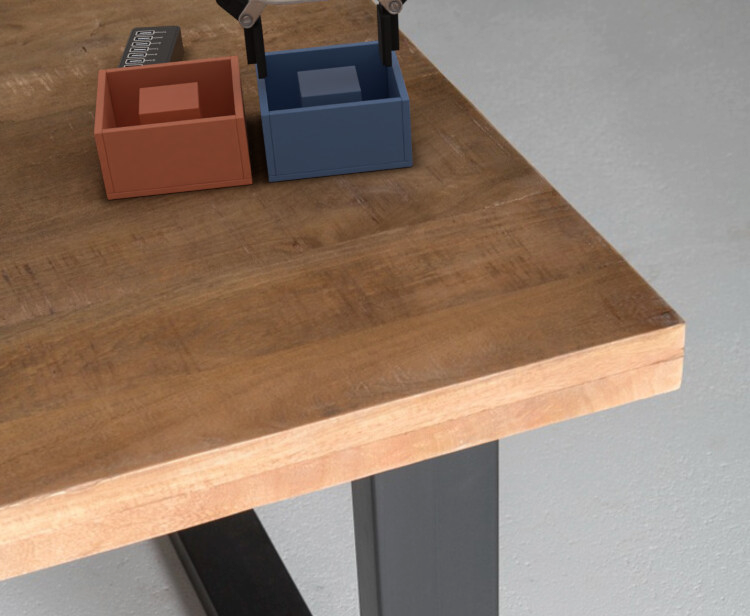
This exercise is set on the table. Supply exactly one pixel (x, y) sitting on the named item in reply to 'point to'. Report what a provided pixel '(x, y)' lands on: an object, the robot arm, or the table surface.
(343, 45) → the blue bin
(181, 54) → the multiport hub
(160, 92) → the terracotta block
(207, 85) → the terracotta bin
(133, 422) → the table surface
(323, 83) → the blue block
